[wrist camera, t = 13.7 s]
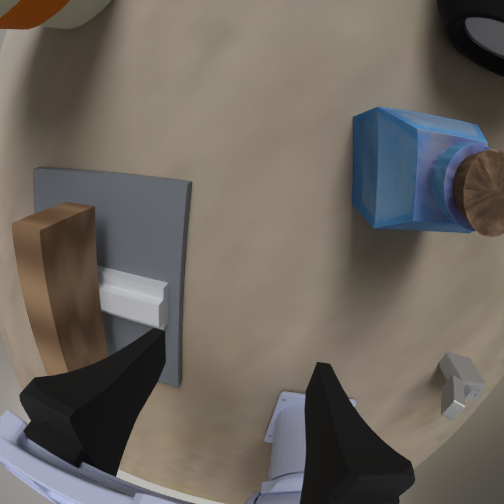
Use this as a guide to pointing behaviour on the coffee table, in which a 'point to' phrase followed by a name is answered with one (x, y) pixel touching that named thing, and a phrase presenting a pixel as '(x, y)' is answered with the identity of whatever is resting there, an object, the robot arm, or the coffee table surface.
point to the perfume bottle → (426, 173)
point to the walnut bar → (61, 285)
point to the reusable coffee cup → (48, 13)
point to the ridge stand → (132, 250)
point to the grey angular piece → (458, 384)
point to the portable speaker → (476, 30)
